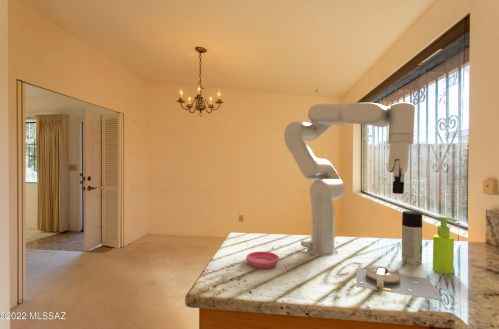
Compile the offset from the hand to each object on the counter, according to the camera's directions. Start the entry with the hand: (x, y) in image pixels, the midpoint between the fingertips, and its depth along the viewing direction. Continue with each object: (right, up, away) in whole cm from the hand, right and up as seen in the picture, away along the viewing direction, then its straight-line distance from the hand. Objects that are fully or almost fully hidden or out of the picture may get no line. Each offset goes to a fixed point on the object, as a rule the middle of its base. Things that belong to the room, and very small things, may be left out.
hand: (397, 193), depth 93 cm
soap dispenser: (+17, -29, +2) cm, 34 cm away
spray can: (+11, -29, +11) cm, 32 cm away
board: (-6, -28, -8) cm, 30 cm away
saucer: (-46, -28, +10) cm, 55 cm away
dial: (-9, -27, -6) cm, 29 cm away
